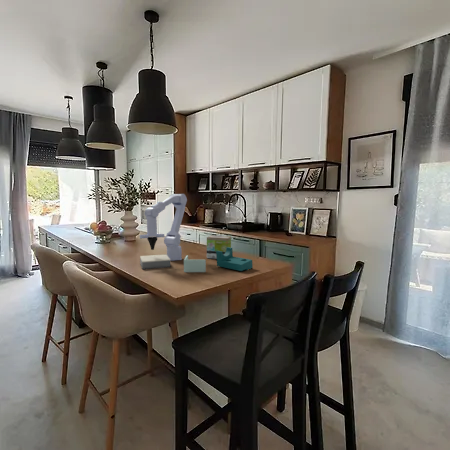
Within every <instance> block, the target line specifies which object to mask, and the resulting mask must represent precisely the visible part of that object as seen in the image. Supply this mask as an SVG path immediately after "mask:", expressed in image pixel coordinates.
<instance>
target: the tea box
mask: <svg viewBox="0 0 450 450" xmlns="http://www.w3.org/2000/svg"><path fill="white" fill-rule="evenodd" d="M227 247H230V248H232V236H228V235H209V236H207V237H206V259H216V260H217V257H216V251H222V252H223V255H224V254H225V252H226V248H227Z"/></svg>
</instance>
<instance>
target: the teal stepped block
mask: <svg viewBox="0 0 450 450" xmlns="http://www.w3.org/2000/svg"><path fill="white" fill-rule="evenodd" d="M216 257H217V259H216V267H221V268H226V269H229V270H235V271H239V272H243V271H249V270H248V269H250V270H252V269H253V265H254V264H253V259H250V258H243V257H238V256H234V254H233V247H231V248H230V247H227V248H226V252H225V254H224V255H223V252H222V251H216ZM251 268H252V269H251Z"/></svg>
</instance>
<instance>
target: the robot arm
mask: <svg viewBox="0 0 450 450" xmlns="http://www.w3.org/2000/svg"><path fill="white" fill-rule="evenodd" d="M187 202H188V199H187V196H186V194H185V193H171V194H169V196H168V197H167V198H165V199H164V200H163V201H157V202H156V203H155V204H151V206H150V207H147V208H146V209H145V211H144V212H143V213H144V216H145V219H146V234H139V239H147V241H148V243H149V245H150V246H149V247H150V250H152V251H153V250H155V245H156V243H157V241H158V238H164V239H163V243H164V244H165V247H166V255H167V256H168V257H169V258H170V262H171V261H182V260H183V259H182V246H181V239H182V236H181V234H180V233H179V232H180V228H181V225H182V221H183V217H184V213H185V210H186V205H187ZM171 204H172V205H173V207H174V208H175V209H176V210H175V214H174V217H173V221H172V222H171V223H172V224H171V228H170V230H169V231H168V232H167V233H166V235H165V233H158V223H157V221H158V220H157V218H158V216H159V214H160V213H161V212H163V211H164V210H165V209H166V207H168V206H169V205H171Z"/></svg>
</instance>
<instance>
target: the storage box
mask: <svg viewBox="0 0 450 450" xmlns="http://www.w3.org/2000/svg"><path fill="white" fill-rule="evenodd" d="M139 258H140V257H139ZM139 260H140V261H139V262H140V263H139V264H140V267H141V270H151V269H152V270H153V269H162V268H170V267H171V261H170V260H168V261H155V262H142V261H141V258H140V259H139Z"/></svg>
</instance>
